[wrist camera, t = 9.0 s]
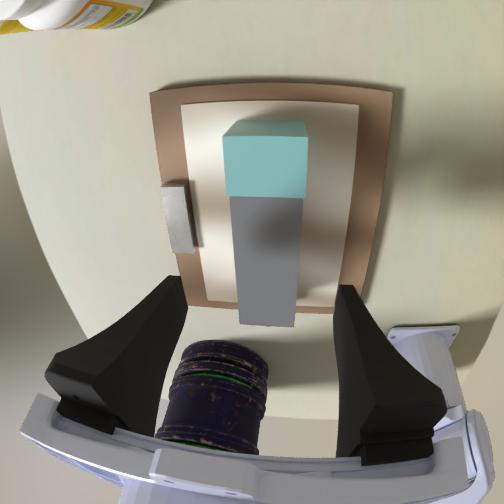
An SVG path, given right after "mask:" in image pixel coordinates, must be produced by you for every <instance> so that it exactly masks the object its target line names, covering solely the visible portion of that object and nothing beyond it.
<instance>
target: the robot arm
mask: <svg viewBox="0 0 504 504" xmlns="http://www.w3.org/2000/svg"><path fill="white" fill-rule="evenodd" d="M187 310H188V305H187V301H186V296H185V292H184V288H183V283H182V279H181V276H172V275H169V276H168V277H166V278H165V279H164V280H163V281H162V282H161V283H160V284H159V285H158V286H157V287H156V288H155V289H154V290H153V291H152V292H151V293H150V294H149V295H147V296H146V297H145V298H144V299H143V300H142V301H141V302H140V303H139V304H138V305H136V306H135V307H134V308H133V309H132V310H131V311H129V312H128V313H127V314H126V315H125V316H123V317H122V318H121V319H119V320H118V321H117V322H115V323H114V324H112V325H111V326H110V327H108V328H107V329H105V330H103V331H102V332H100V333H98V334H97V335H95V336H93V337H92V338H90V339H88V340H86V341H84V342H82V343H80V344H78V345H76V346H73V347H71V348H69V349H66V350H63V351H61V352H59V353H56V354H55V356H54V358H53V359H52V361H51V363H50V365H49V366H48V368H47V370H46V372H45V378H46V380H47V382H48V383H49V384H50V385H51V386H52V388H53V389H54V390H55V391H56V392H57V393H58V394H59V395H60V396H61V401H60V402H58V401H56V400H55V399H53V398H51V397H48V396H46V395H44V394H41V393H38V394H37V396H36V398H35V400H34V402H33V404H32V406H31V408H30V410H29V412H28V414H27V416H26V418H25V420H24V422H23V424H22V426H21V428H20V433H21V434H22V435H24V436H25V437H26V438H28V439H29V440H30V441H32V442H33V443H34V444H36V445H37V446H38V447H40V448H41V449H43V450H44V451H46V452H47V453H49V454H51V455H53V456H55V457H56V458H58V459H60V460H62V461H65V462H66V463H69V464H70V465H73V466H74V467H77V468H79V469H81V470H83V471H85V472H87V473H90V474H92V475H94V476H96V477H98V478H101V479H103V480H105V481H108V482H111V483H113V484H116V485H118V486H120V487H123V489H122V492H121V495H120V499H119V503H118V504H479V503H480V502H481V501H482V500H483V498H485V496H486V495H487V494H488V493H489V491H490V490H491V488H492V485H493V481H494V479H495V471H494V465H493V452H492V446H491V441H490V436H489V433H488V429H487V426H486V423H485V420H484V418H483V415H482V414H481V412H478V411H476V410H475V409H472V410H470V411H468V410H467V409H466V405H465V401H464V397H463V394H462V390H461V386H460V383H459V379H458V376H457V372H456V369H455V366H454V363H453V360H452V356H451V353H450V350H449V348H450V346H451V344H452V343H453V341H454V339H455V338H456V336H457V334H458V333H459V331H460V327H459V326H458V325H453V326H432V327H395V328H392V329H391V330H390V331H389V333H388V335H387V338H386V336H385V335H384V334H383V332H382V331H381V329H380V328H379V327H378V325H377V324H376V322H375V321H374V319H373V318H372V316H371V314H370V313H369V311H368V310H367V308H366V306H365V305H364V303H363V301H362V299H361V298H360V296H359V294H358V292H357V290H356V288H355V287H354V286H353V285H344V284H339V290H338V295H337V300H336V305H335V310H334V315H333V332H334V343H335V351H336V359H337V367H338V375H339V423H338V440H337V450H336V458H293V457H274V456H261V455H250V454H241V453H233V452H225V451H218V450H212V449H205V448H200V447H194V446H189V445H184V444H179V443H174V442H170V441H165V440H161V439H157V438H154V434H155V426H156V418H157V413H158V406H159V402H160V397H161V392H162V388H163V383H164V379H165V375H166V372H167V368H168V365H169V362H170V360H171V357H172V355H173V352H174V350H175V347H176V345H177V342H178V339H179V337H180V334H181V332H182V329H183V326H184V323H185V319H186V315H187ZM473 478H475V479H474V480H472V481H470V482H469V480H471V479H473Z"/></svg>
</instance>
